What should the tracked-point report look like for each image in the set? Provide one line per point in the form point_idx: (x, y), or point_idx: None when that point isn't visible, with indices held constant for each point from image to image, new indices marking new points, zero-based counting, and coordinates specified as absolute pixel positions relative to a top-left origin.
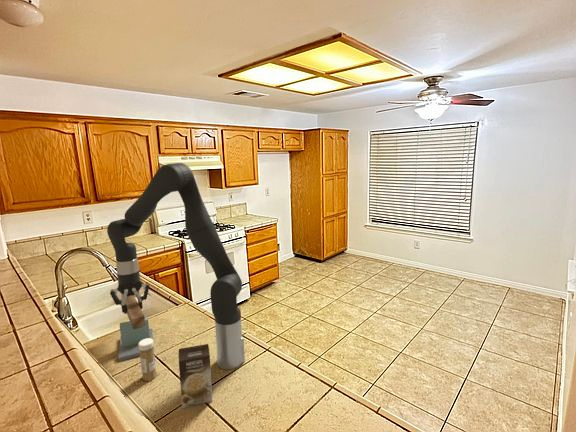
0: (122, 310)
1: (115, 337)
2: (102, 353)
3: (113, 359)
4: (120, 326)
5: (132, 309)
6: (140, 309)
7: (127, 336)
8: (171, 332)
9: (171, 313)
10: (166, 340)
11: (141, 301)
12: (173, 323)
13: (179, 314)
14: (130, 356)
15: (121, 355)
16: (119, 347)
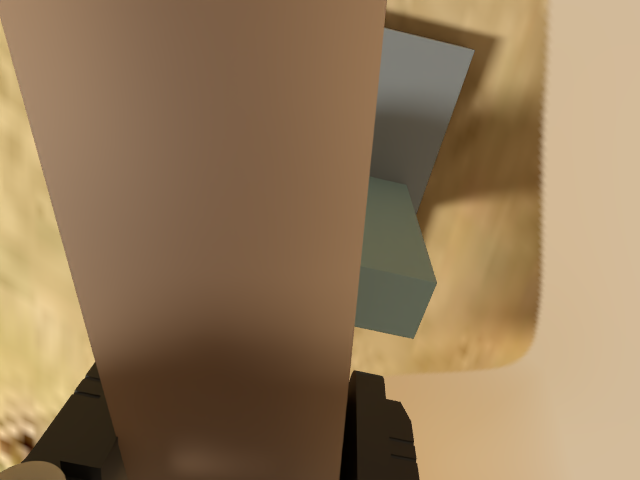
0: (406, 439)
1: (396, 344)
2: (512, 229)
3: (485, 106)
4: (428, 276)
5: (255, 292)
6: (49, 149)
7: (367, 207)
8: None
9: (63, 383)
10: None
11: (12, 466)
12: (53, 275)
13: (14, 346)
14: (387, 28)
15: (444, 71)
16: (422, 194)
